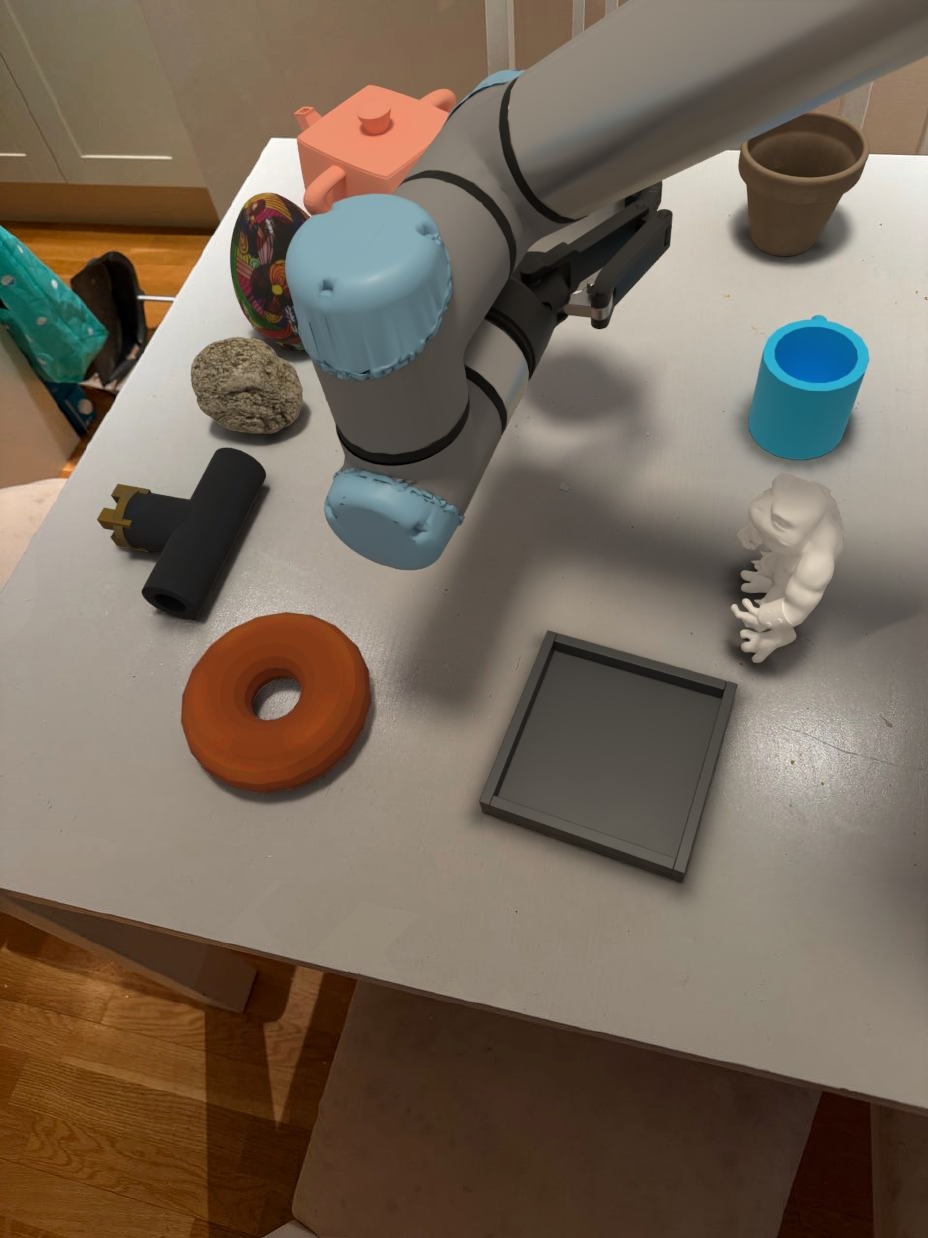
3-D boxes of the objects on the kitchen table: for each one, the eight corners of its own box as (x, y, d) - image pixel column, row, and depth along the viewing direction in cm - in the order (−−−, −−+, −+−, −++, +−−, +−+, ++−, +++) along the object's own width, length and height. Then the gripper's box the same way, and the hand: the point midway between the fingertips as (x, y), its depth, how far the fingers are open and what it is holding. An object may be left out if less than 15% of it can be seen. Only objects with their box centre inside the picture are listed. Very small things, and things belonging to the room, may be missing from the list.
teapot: (512, 198, 100) (502, 71, 88) (379, 311, 93) (347, 189, 81) (387, 146, 108) (362, 23, 96) (256, 246, 101) (211, 127, 89)
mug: (840, 466, 76) (865, 397, 69) (741, 452, 78) (756, 384, 71) (852, 366, 81) (877, 293, 74) (760, 355, 83) (776, 283, 76)
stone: (297, 452, 84) (264, 374, 76) (206, 441, 87) (163, 364, 78) (319, 404, 87) (289, 323, 79) (230, 394, 89) (191, 315, 81)
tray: (733, 697, 66) (738, 683, 64) (681, 882, 60) (684, 873, 58) (548, 644, 70) (547, 629, 68) (482, 812, 64) (478, 801, 62)
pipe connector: (62, 567, 74) (141, 432, 81) (92, 600, 78) (164, 470, 85) (185, 592, 71) (256, 450, 78) (208, 624, 76) (273, 488, 83)
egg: (236, 352, 93) (179, 225, 80) (288, 286, 97) (242, 155, 84) (323, 375, 89) (278, 246, 76) (372, 305, 94) (337, 173, 81)
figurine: (812, 680, 66) (866, 569, 53) (720, 672, 67) (751, 561, 55) (809, 561, 71) (857, 433, 59) (724, 555, 73) (752, 429, 60)
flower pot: (846, 204, 93) (872, 107, 84) (842, 276, 87) (869, 182, 79) (732, 199, 95) (747, 105, 87) (721, 269, 90) (735, 177, 81)
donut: (161, 770, 69) (133, 745, 65) (247, 613, 76) (226, 581, 71) (331, 828, 65) (312, 805, 61) (406, 656, 71) (394, 625, 67)
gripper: (339, 366, 63) (458, 178, 73) (644, 431, 57) (731, 214, 66) (311, 279, 57) (445, 85, 67) (650, 340, 50) (745, 115, 60)
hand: (588, 149), depth 67 cm, fingers closed on cup, 10 cm apart
